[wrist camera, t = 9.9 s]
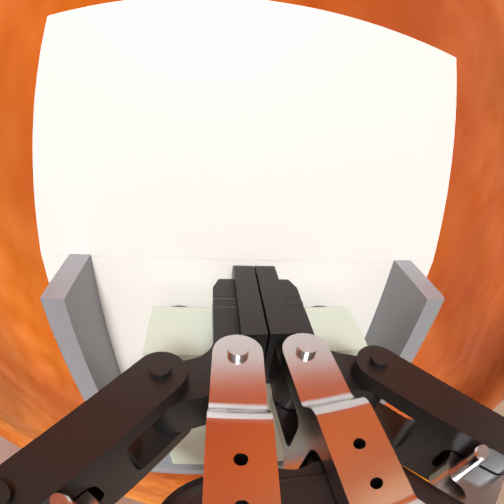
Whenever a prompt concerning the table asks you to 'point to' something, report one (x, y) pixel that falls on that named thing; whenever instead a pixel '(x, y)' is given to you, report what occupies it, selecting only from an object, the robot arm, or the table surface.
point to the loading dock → (234, 169)
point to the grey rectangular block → (201, 340)
